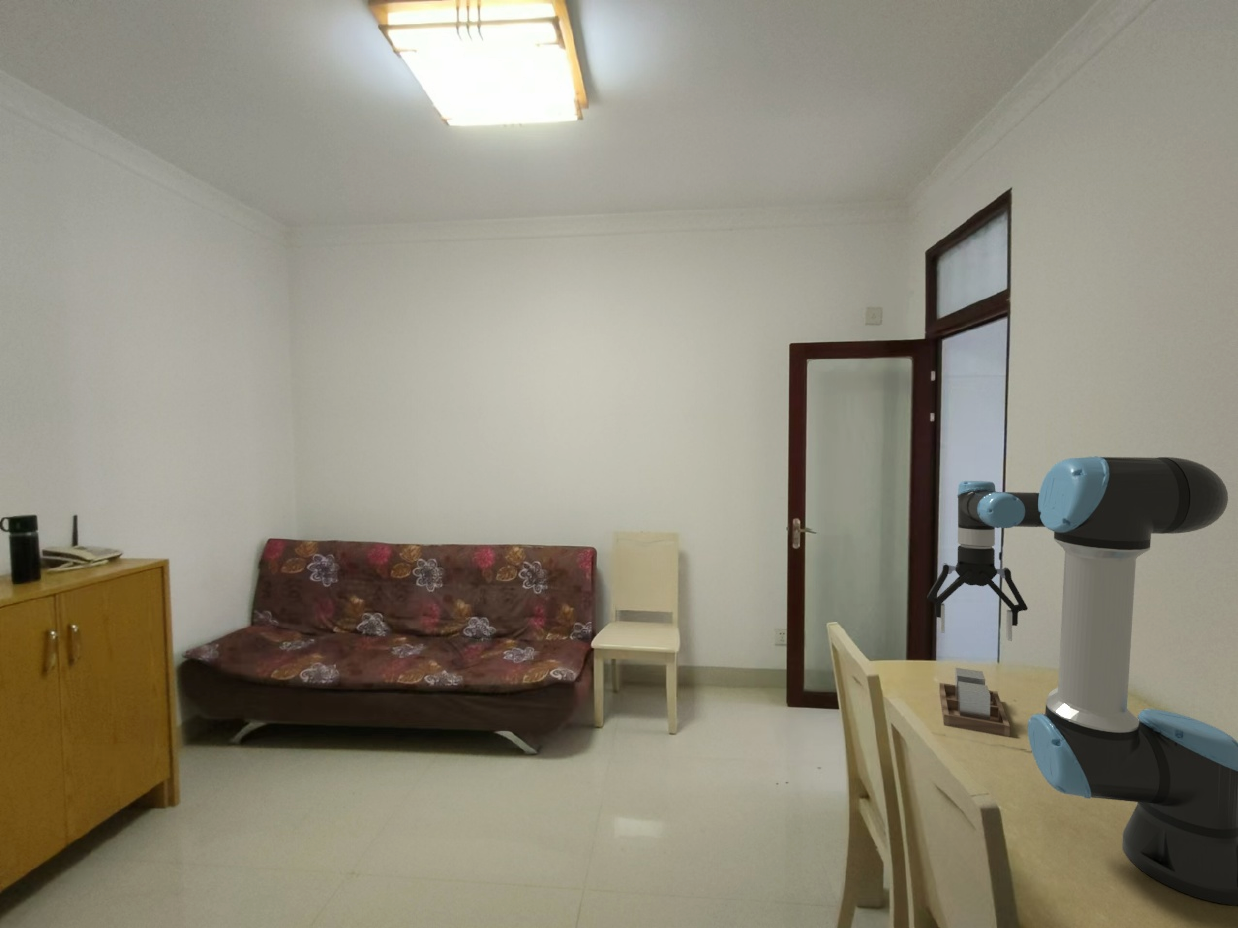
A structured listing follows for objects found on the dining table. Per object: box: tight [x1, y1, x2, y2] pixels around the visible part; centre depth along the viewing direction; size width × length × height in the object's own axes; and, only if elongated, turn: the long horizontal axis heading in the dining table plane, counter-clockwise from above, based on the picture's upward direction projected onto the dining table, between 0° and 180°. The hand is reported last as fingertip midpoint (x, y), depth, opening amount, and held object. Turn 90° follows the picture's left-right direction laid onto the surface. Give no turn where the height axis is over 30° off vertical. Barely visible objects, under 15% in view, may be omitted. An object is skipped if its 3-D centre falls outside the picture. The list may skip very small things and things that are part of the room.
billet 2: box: [958, 681, 990, 721], centre depth 139 cm, size 6×6×8 cm
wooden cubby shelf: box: [938, 682, 1011, 738], centre depth 144 cm, size 21×13×4 cm, turn 154°
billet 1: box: [954, 667, 986, 700], centre depth 148 cm, size 6×6×8 cm
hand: (975, 635), depth 139 cm, fingers open, 13 cm apart
